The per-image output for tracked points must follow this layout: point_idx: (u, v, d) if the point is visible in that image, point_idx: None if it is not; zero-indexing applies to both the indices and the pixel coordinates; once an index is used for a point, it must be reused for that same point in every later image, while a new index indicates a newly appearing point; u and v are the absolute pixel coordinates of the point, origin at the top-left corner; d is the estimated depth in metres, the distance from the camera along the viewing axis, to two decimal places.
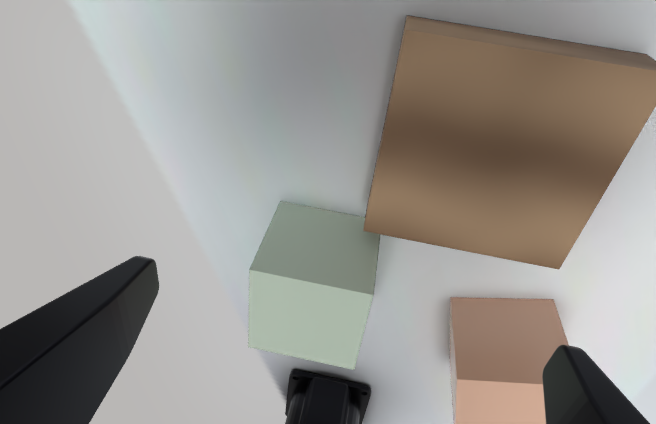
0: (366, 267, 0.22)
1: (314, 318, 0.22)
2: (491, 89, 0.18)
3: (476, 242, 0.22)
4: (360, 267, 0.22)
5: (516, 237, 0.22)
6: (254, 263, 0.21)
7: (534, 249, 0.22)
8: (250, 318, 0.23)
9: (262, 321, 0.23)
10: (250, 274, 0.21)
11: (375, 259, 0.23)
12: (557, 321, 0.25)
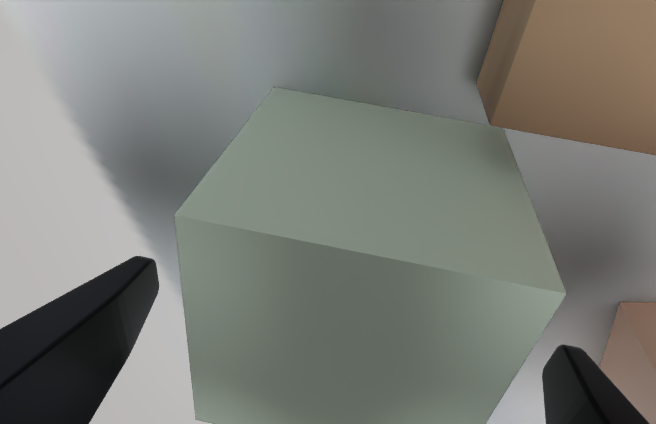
0: (512, 216, 0.08)
1: (363, 359, 0.08)
2: None
3: None
4: (495, 218, 0.08)
5: None
6: (191, 199, 0.07)
7: None
8: (193, 356, 0.09)
9: (225, 364, 0.09)
10: (179, 231, 0.07)
11: (525, 199, 0.08)
12: None
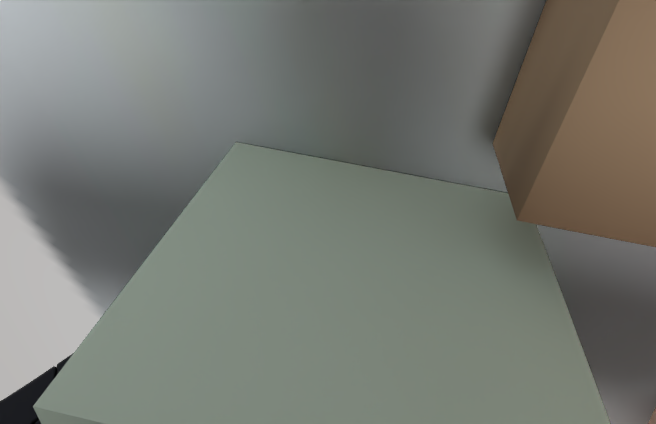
0: (554, 370, 0.05)
1: None
2: None
3: None
4: (529, 375, 0.05)
5: None
6: (71, 366, 0.05)
7: None
8: None
9: None
10: None
11: (569, 332, 0.06)
12: None
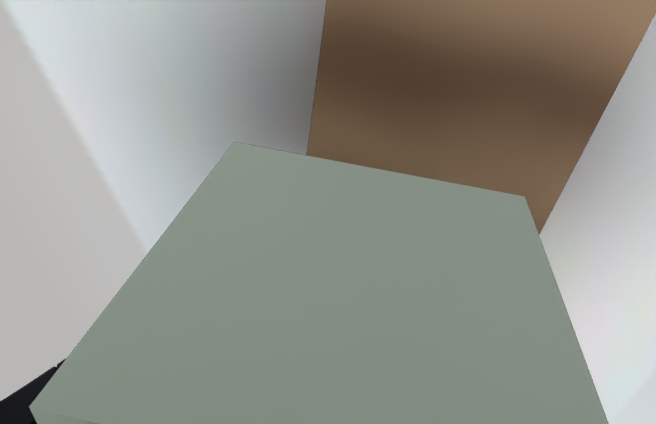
0: (552, 371, 0.05)
1: None
2: None
3: None
4: (527, 376, 0.05)
5: None
6: (67, 367, 0.05)
7: None
8: None
9: None
10: None
11: (568, 333, 0.06)
12: None
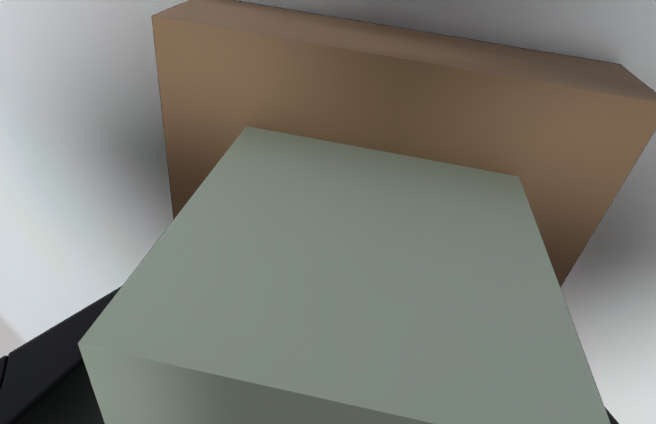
0: (540, 322, 0.06)
1: None
2: (331, 128, 0.10)
3: None
4: (517, 326, 0.06)
5: None
6: (108, 313, 0.05)
7: None
8: None
9: None
10: (88, 361, 0.05)
11: (555, 292, 0.07)
12: None
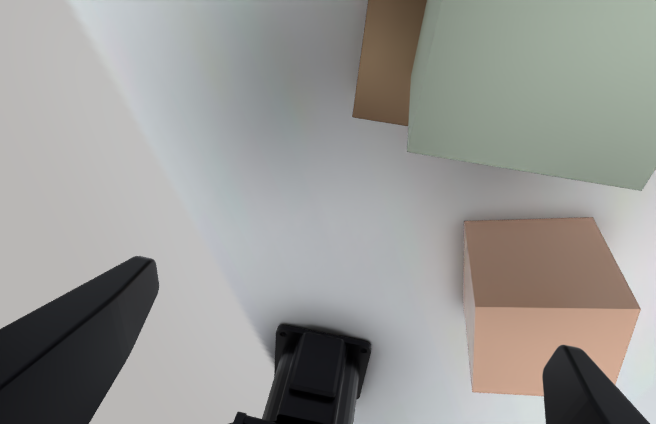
0: None
1: (600, 33, 0.09)
2: None
3: None
4: None
5: None
6: None
7: None
8: (432, 59, 0.10)
9: (460, 65, 0.10)
10: None
11: None
12: (600, 239, 0.20)
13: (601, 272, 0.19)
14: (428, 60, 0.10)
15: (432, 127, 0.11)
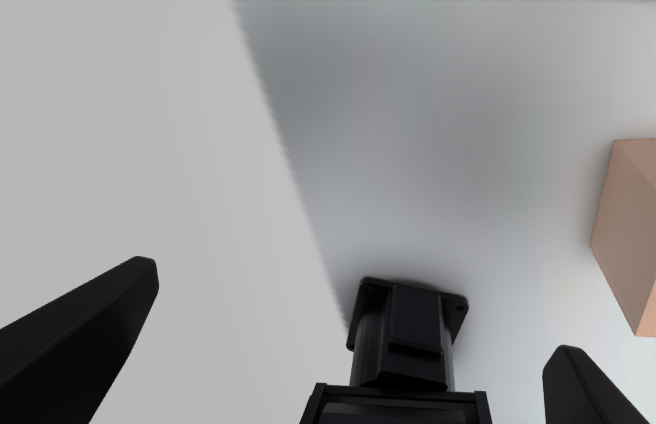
0: None
1: None
2: None
3: None
4: None
5: None
6: None
7: None
8: None
9: None
10: None
11: None
12: None
13: None
14: None
15: None
